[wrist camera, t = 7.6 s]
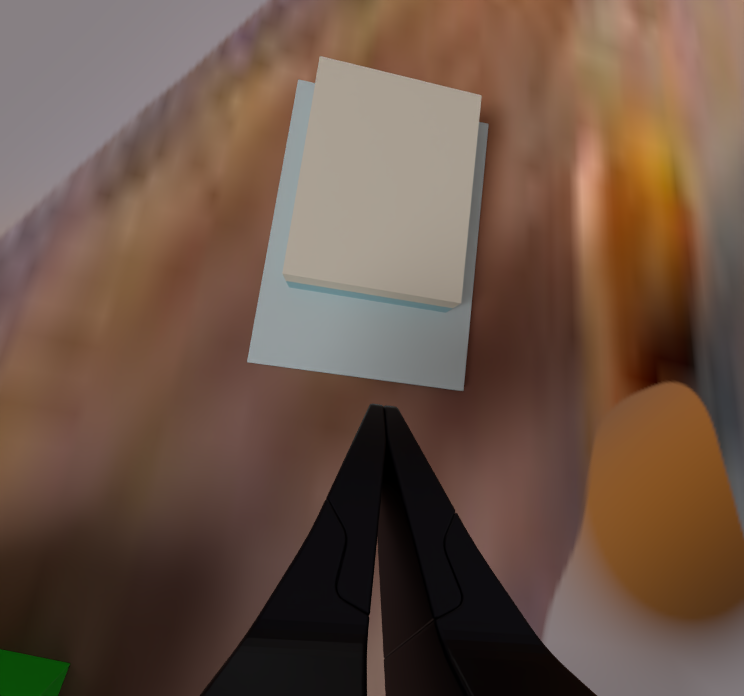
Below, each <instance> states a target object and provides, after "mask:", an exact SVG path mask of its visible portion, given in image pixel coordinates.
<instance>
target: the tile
mask: <svg viewBox="0 0 744 696" xmlns="http://www.w3.org/2000/svg"><path fill="white" fill-rule="evenodd" d="M481 96H482V95H478V94H474V93H469V92H465V91H461V90H457V89H453V88H449V87H445V86H441V85H437V84H433V83H428V82H424V81H420V80H416V79H412V78H408V77H404V76H400V75H396V74H392V73H387V72H383V71H379V70H375V69H371V68H367V67H363V66H359V65H355V64H350V63H346V62H342V61H338V60H334V59H330V58H326V57H322V56H320V59H319V64H318V70H317V76H316V82H315V87H314V93H313V99H312V105H311V111H310V116H309V122H308V128H307V134H306V139H305V145H304V151H303V157H302V162H301V168H300V174H299V180H298V185H297V191H296V197H295V203H294V209H293V214H292V220H291V226H290V232H289V237H288V243H287V249H286V255H285V260H284V266H283V272H282V274H283V276H284V278H285V280H286V282H287V284H288V286H289V287H290V288H296V289H302V290H309V291H315V292H321V293H327V294H333V295H339V296H346V297H352V298H358V299H364V300H370V301H376V302H383V303H389V304H395V305H401V306H407V307H413V308H420V309H426V310H432V311H438V312H444V313H446V312H448V311H449V310H451V309H453V308H454V307H456V306H457V305H459V304H461V299H462V289H463V279H464V269H465V259H466V248H467V238H468V228H469V218H470V208H471V198H472V188H473V177H474V167H475V157H476V147H477V137H478V127H479V116H480V106H481Z"/></svg>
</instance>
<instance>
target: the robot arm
mask: <svg viewBox="0 0 744 696" xmlns="http://www.w3.org/2000/svg"><path fill="white" fill-rule="evenodd" d="M377 537H378V556H379V575H380V594H381V613H382V632H383V652H384V658H385V659H384V672H385V691H386V696H597V695H596V694H595V693H593V692H592V691H591V690H590V689H589V688H588V687H587V686H585V684H583V683H582V682H581V681H580V680H579V679H578V678H577V677H576V676H575V675H573V674H572V673H571V672H570V671H569V670H568V669H567V668H566V667H564V665H563V664H562V663H560V661H559V660H558V659H557V658H556V657H555V656H554V655H553V654H552V653H551V652H550V651H549V650H548V649H547V647H546V646H545V645H544V644H543V643H542V641H541V640H540V639H539V638H538V636H537V635H536V634H535V632H534V631H533V629H532V628H531V627H530V625H529V624H528V622H527V621H526V619H525V618H524V617H523V615H522V614H521V612H520V611H519V609H518V608H517V606H516V605H515V603H514V602H513V600H512V599H511V598H510V596H509V595H508V593H507V592H506V590H505V589H504V587H503V586H502V584H501V583H500V581H499V580H498V579H497V577H496V576H495V574H494V573H493V571H492V570H491V568H490V567H489V565H488V564H487V562H486V561H485V559H484V558H483V556H482V555H481V553H480V552H479V550H478V548H477V547H476V545H475V544H474V542H473V540H472V538H471V537H470V535H469V533H468V532H467V530H466V528H465V527H464V525H463V523H462V521H461V519H460V518H459V516H458V514H457V513H455V509H454V507H453V505H452V504H451V502H450V500H449V498H448V497H447V495H446V493H445V491H444V489H443V488H442V486H441V484H440V482H439V481H438V479H437V477H436V475H435V473H434V472H433V470H432V468H431V466H430V465H429V463H428V461H427V459H426V457H425V456H424V454H423V452H422V450H421V449H420V447H419V445H418V443H417V441H416V440H415V438H414V436H413V434H412V433H411V431H410V429H409V427H408V425H407V424H406V422H405V420H404V418H403V417H402V415H401V413H400V411H399V409H398V408H397V407H393V406H384V407H383V405H379V404H370V406H369V408H368V410H367V412H366V414H365V416H364V418H363V420H362V423H361V425H360V427H359V429H358V431H357V433H356V435H355V438H354V440H353V442H352V444H351V446H350V448H349V451H348V453H347V455H346V457H345V459H344V461H343V463H342V466H341V468H340V470H339V472H338V474H337V476H336V478H335V481H334V483H333V485H332V487H331V489H330V491H329V494H328V496H327V498H326V500H325V502H324V504H323V506H322V508H321V510H320V512H319V515H318V517H317V519H316V521H315V522H314V524H313V526H312V528H311V530H310V532H309V534H308V536H307V538H306V539H305V541H304V543H303V544H302V546H301V548H300V550H299V551H298V553H297V555H296V556H295V558H294V560H293V561H292V563H291V564H290V566H289V568H288V569H287V571H286V572H285V574H284V576H283V577H282V579H281V580H280V582H279V584H278V585H277V587H276V588H275V590H274V592H273V593H272V595H271V596H270V598H269V600H268V601H267V603H266V604H265V606H264V608H263V609H262V611H261V612H260V614H259V615H258V617H257V619H256V620H255V622H254V623H253V625H252V626H251V628H250V629H249V631H248V632H247V633H246V635H245V636H244V638H243V639H242V641H241V642H240V643H239V645H238V646H237V648H236V649H235V650H234V652H233V653H232V654H231V656H230V657H229V658H228V659H227V661H226V662H225V663H224V665H223V666H222V667H221V669H220V670H219V671H218V672H217V674H216V675H215V676H214V678H213V679H212V680H211V682H210V683H209V684H208V685H207V687H206V688H205V689H204V691H203V692H202V693H201V694H200V696H367V641H368V627H369V614H370V606H371V596H372V586H373V575H374V565H375V555H376V545H377Z"/></svg>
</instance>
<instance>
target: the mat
mask: <svg viewBox="0 0 744 696" xmlns="http://www.w3.org/2000/svg"><path fill="white" fill-rule="evenodd" d="M314 87H315V83H311V82H307V81H303V80H299V79H298V84H297V90H296V95H295V101H294V106H293V112H292V117H291V123H290V128H289V134H288V139H287V145H286V151H285V156H284V162H283V167H282V173H281V178H280V184H279V189H278V195H277V200H276V206H275V211H274V217H273V222H272V228H271V233H270V239H269V244H268V250H267V255H266V261H265V266H264V272H263V277H262V283H261V288H260V294H259V299H258V305H257V310H256V316H255V322H254V327H253V333H252V338H251V344H250V349H249V355H248V360H247V362H250V363H257V364H265V365H272V366H280V367H287V368H294V369H302V370H309V371H317V372H324V373H332V374H339V375H346V376H354V377H361V378H369V379H376V380H384V381H391V382H398V383H406V384H413V385H421V386H428V387H436V388H443V389H451V390H458V391H463V390H464V379H465V369H466V358H467V348H468V337H469V326H470V316H471V305H472V294H473V284H474V273H475V263H476V252H477V241H478V231H479V220H480V209H481V199H482V188H483V178H484V167H485V156H486V146H487V135H488V124H487V123H482V122H479V127H478V137H477V147H476V157H475V167H474V177H473V188H472V198H471V208H470V218H469V228H468V238H467V248H466V259H465V269H464V279H463V289H462V299H461V304H459V305H457V306H456V307H454V308H453V309H451V310H449V311H448V312H446V313H444V312H438V311H432V310H426V309H420V308H413V307H407V306H401V305H395V304H389V303H383V302H376V301H370V300H364V299H358V298H352V297H346V296H339V295H333V294H327V293H321V292H315V291H309V290H302V289H296V288H290V287H289V286H288V284H287V282H286V280H285V278H284V276H283V274H282V272H283V266H284V260H285V255H286V249H287V243H288V237H289V232H290V226H291V220H292V214H293V209H294V203H295V197H296V191H297V185H298V180H299V174H300V168H301V162H302V157H303V151H304V145H305V139H306V134H307V128H308V122H309V116H310V111H311V105H312V99H313V93H314Z"/></svg>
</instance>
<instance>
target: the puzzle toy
mask: <svg viewBox="0 0 744 696" xmlns="http://www.w3.org/2000/svg"><path fill="white" fill-rule="evenodd" d="M69 666H70V663H66V662H62V661H57V660H52V659H47V658H42V657H37V656H32V655H27V654H22V653H17V652H12V651H7V650H2V649H0V696H58V694H59V692H60V689H61V686H62V684H63V681H64V679H65V676H66V673H67V671H68V668H69Z"/></svg>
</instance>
